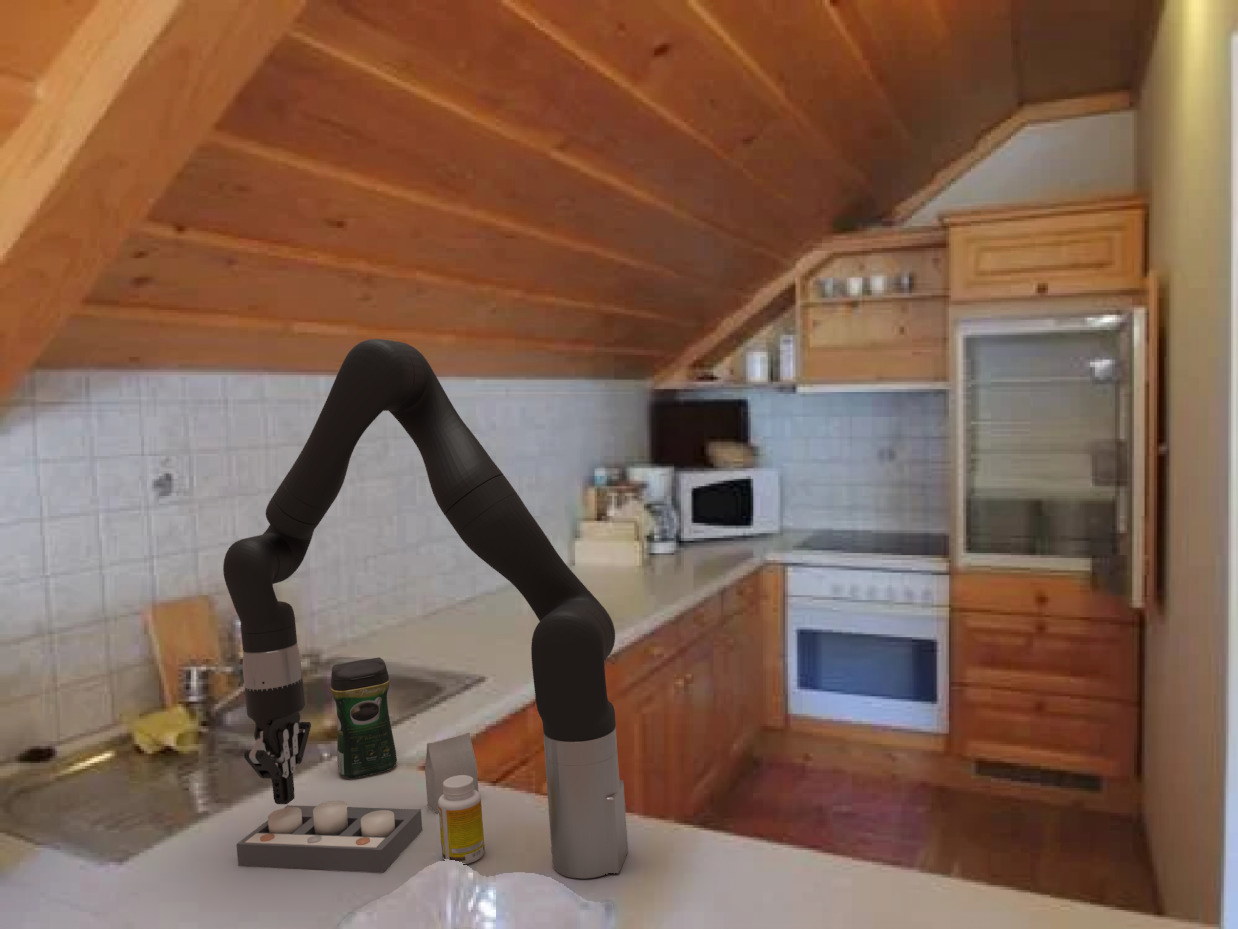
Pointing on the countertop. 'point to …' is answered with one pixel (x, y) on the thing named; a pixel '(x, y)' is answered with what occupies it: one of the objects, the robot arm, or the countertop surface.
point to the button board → (330, 844)
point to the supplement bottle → (461, 820)
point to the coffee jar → (363, 718)
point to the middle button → (330, 818)
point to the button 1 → (285, 820)
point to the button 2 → (378, 824)
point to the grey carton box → (448, 765)
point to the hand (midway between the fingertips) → (284, 801)
